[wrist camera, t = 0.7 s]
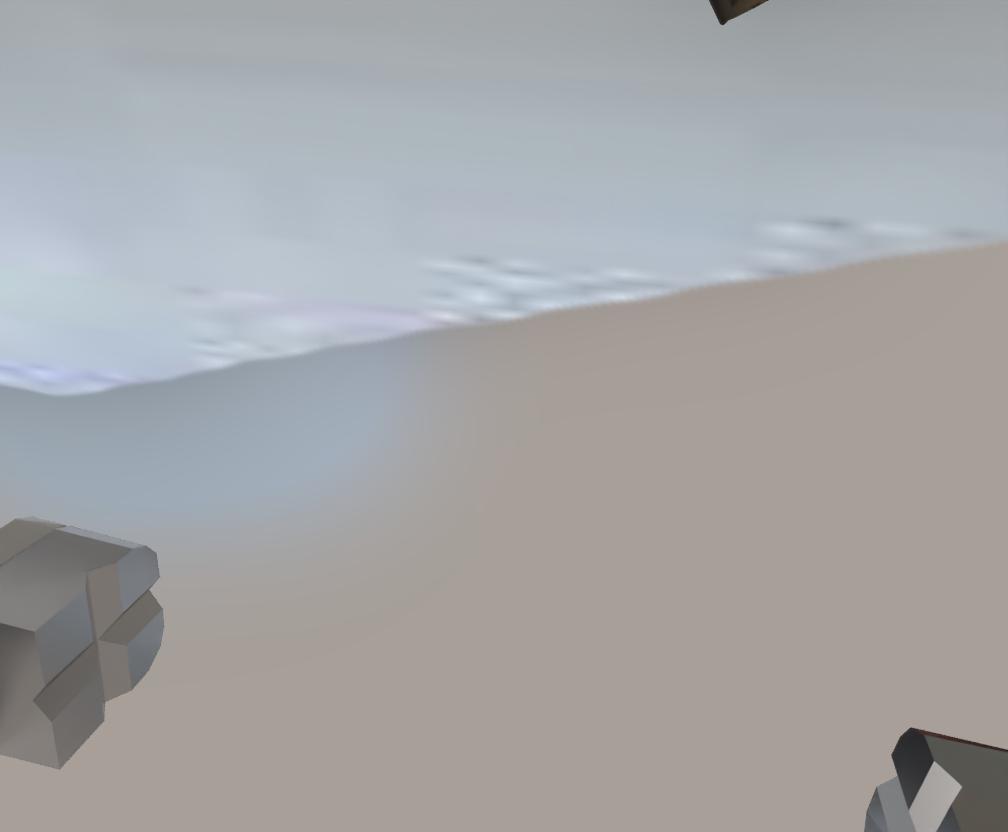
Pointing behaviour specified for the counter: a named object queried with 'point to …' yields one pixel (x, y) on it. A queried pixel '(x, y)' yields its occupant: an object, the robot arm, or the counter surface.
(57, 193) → the counter surface
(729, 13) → the beverage carton
